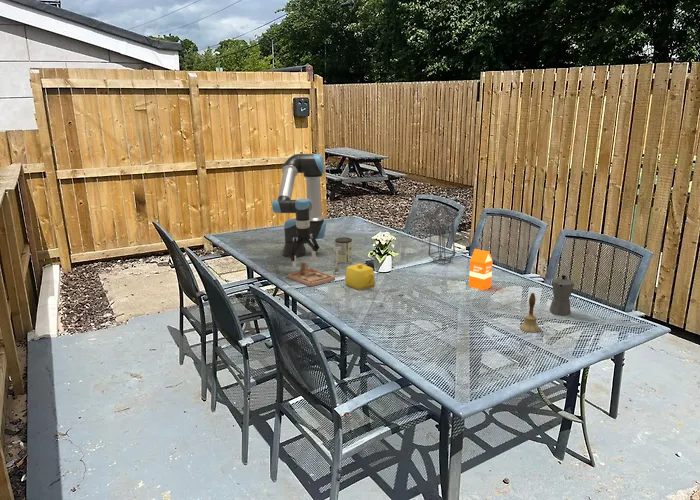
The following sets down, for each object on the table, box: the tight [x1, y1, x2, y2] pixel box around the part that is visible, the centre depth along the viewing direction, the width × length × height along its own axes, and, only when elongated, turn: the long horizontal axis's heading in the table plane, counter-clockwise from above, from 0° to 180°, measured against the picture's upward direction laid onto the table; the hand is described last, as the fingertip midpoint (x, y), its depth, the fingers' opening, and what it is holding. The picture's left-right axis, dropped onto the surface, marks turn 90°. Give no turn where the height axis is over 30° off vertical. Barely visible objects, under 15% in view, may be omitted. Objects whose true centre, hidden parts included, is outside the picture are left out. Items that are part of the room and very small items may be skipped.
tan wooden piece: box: [299, 262, 329, 283], centre depth 296 cm, size 17×12×7 cm
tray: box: [287, 267, 336, 288], centre depth 296 cm, size 22×17×2 cm
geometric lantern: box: [425, 205, 460, 265], centre depth 323 cm, size 16×16×35 cm
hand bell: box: [519, 292, 541, 333], centre depth 227 cm, size 8×8×16 cm
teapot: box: [344, 263, 376, 291], centre depth 284 cm, size 20×12×12 cm, turn 37°
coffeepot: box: [549, 274, 575, 317], centre depth 245 cm, size 15×9×18 cm, turn 151°
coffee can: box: [334, 237, 353, 264], centre depth 328 cm, size 10×10×14 cm
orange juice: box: [468, 248, 493, 291], centre depth 279 cm, size 8×9×20 cm
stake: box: [331, 246, 341, 275], centre depth 304 cm, size 4×6×15 cm
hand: (304, 264), depth 299 cm, fingers open, 13 cm apart
